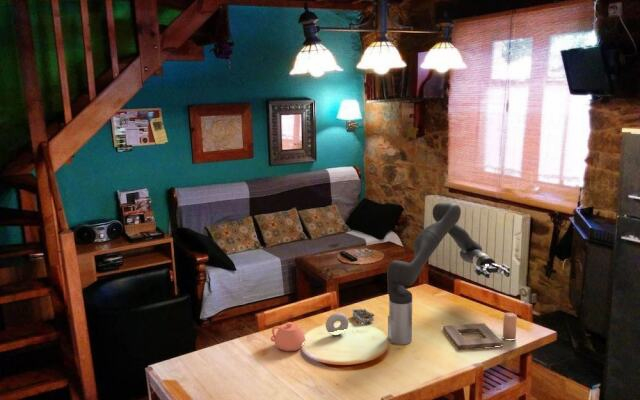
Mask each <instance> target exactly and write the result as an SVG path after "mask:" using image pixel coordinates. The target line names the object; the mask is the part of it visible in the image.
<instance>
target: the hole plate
mask: <svg viewBox="0 0 640 400" xmlns="http://www.w3.org/2000/svg"><path fill="white" fill-rule="evenodd" d="M442 330H444V331H445V332H444V331H443V332H444V334H445V335H446V334H447V335H448V336H447V335H446V336H447V337H448V338H450V339H449V340H450V341H451V343H452V342H453V343H452V344H453V346H455V347H456V349H457V350H458V351H465V350H466V349H467V350H476V349H475V348H481V349H486V348H485V347H495V346H501V345H503V344H504V342H503V341H502V340H501V338H500V337H499V336H497V335H496V334H495V333H494V332H493V331H492V329H491V328H490V327H488V326H487V325H486V323H484V322H483V323H480V322H479V323H478V322H477V323H463V324H451V325H442ZM474 332H478V333H477V334H478V335H479V336H480V335H481V336H482V337H483V338H482V337H481V336H480V337H481V338H468V339H467V338H465V337H464V336H463V334H460V333H467V334H475V333H474ZM495 348H496V347H495ZM467 350H466V351H467Z"/></svg>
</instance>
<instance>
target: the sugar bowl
mask: <svg viewBox="0 0 640 400" xmlns="http://www.w3.org/2000/svg"><path fill="white" fill-rule="evenodd" d="M275 329H278V330H277V331H276V333H275ZM271 332H272V336H271V337H270V341H272V342H274V345H275V346H276V347H277V348H278V349H280V350H281V351H284V352H285V351H286V352H296V351H297V350H299V349H301V348H302V347H301V345H302V343H303V342H304V341H305V342H306V336H305V334H304V331H303V329H301V327H300V326H299V325H298V324H297V323H294V322H291V321H288V322H286V323H283V324H281V325H280V326H278V325H276V326H273V327H272V329H271Z"/></svg>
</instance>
